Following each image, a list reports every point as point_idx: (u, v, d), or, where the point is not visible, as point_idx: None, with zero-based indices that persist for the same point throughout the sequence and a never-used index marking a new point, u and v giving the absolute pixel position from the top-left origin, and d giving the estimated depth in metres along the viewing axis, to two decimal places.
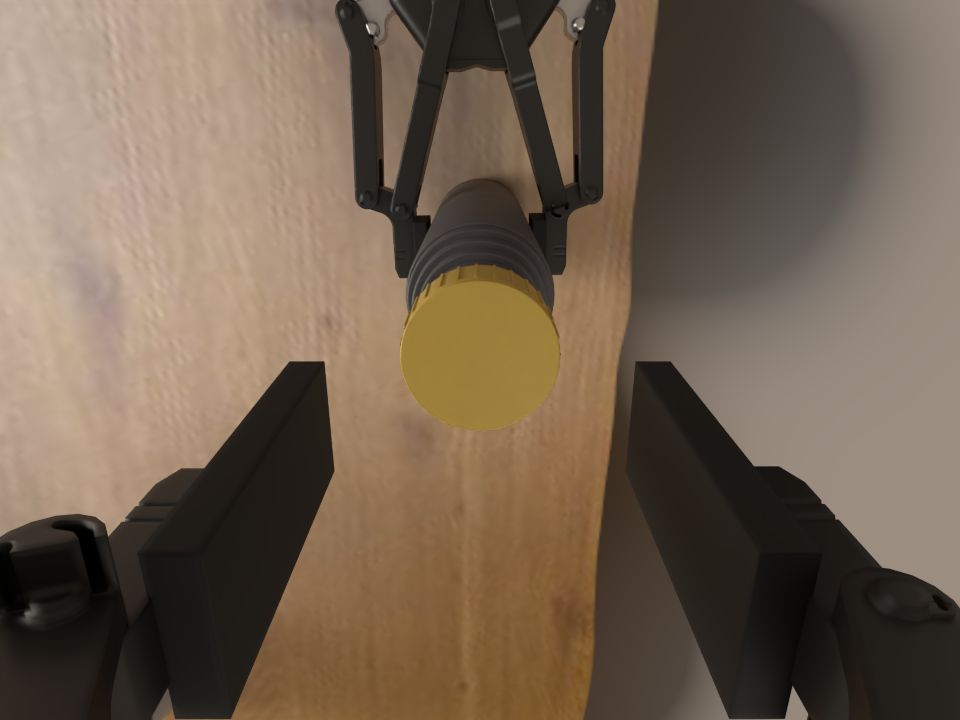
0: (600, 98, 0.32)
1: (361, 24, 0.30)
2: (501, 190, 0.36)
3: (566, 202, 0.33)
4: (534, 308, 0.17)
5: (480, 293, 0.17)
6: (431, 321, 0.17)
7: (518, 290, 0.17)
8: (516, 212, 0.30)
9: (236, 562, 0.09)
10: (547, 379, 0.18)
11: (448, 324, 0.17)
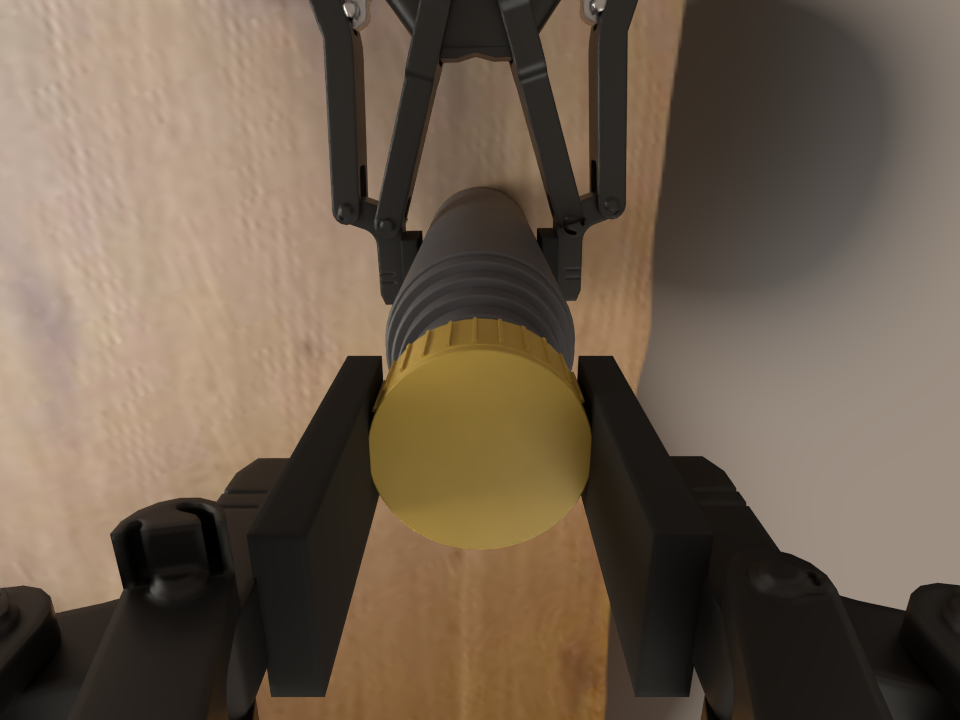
0: (623, 93, 0.26)
1: (337, 4, 0.25)
2: (505, 201, 0.31)
3: (582, 216, 0.28)
4: (557, 387, 0.12)
5: (480, 367, 0.12)
6: (410, 405, 0.12)
7: (535, 363, 0.12)
8: (524, 231, 0.24)
9: (328, 545, 0.09)
10: (574, 483, 0.13)
11: (435, 409, 0.12)
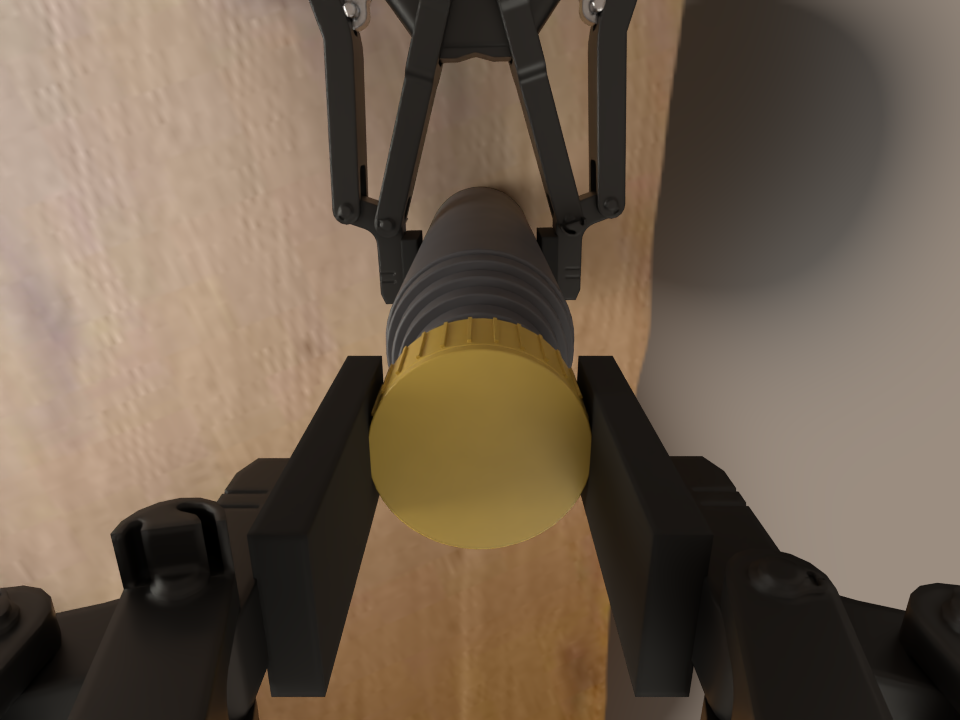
0: (623, 93, 0.27)
1: (337, 4, 0.25)
2: (504, 201, 0.31)
3: (581, 216, 0.28)
4: (383, 413, 0.12)
5: (391, 482, 0.13)
6: (450, 524, 0.13)
7: None
8: (523, 230, 0.25)
9: (328, 546, 0.09)
10: (477, 361, 0.12)
11: (446, 505, 0.13)
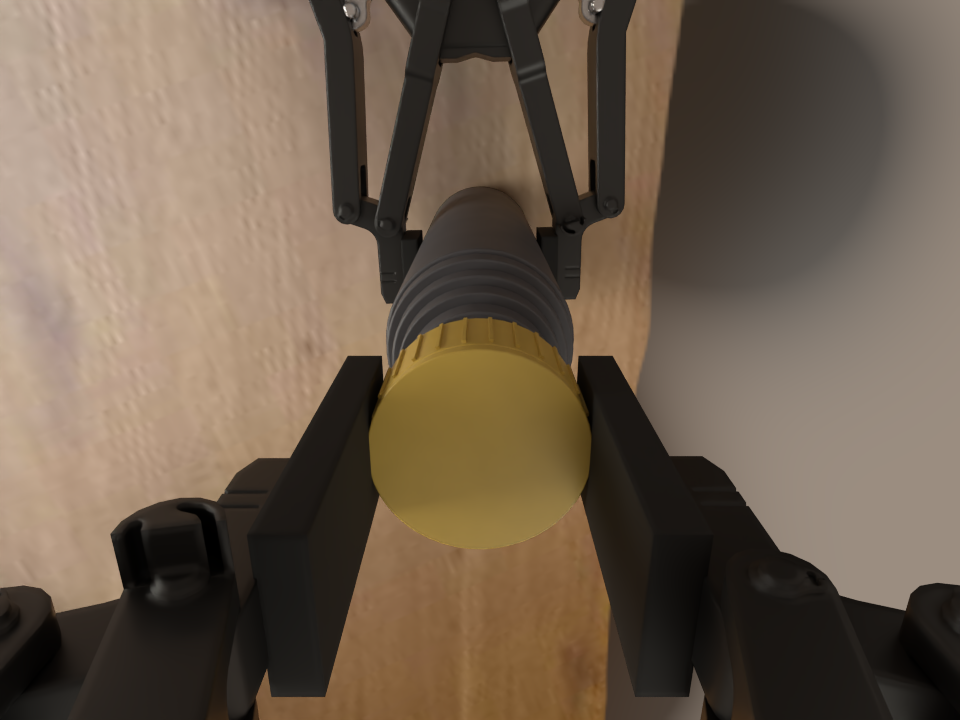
0: (622, 93, 0.27)
1: (337, 5, 0.25)
2: (504, 200, 0.31)
3: (581, 216, 0.28)
4: (468, 541, 0.13)
5: (536, 519, 0.13)
6: (567, 457, 0.13)
7: (499, 546, 0.13)
8: (523, 230, 0.25)
9: (328, 545, 0.09)
10: (387, 486, 0.13)
11: (545, 467, 0.13)
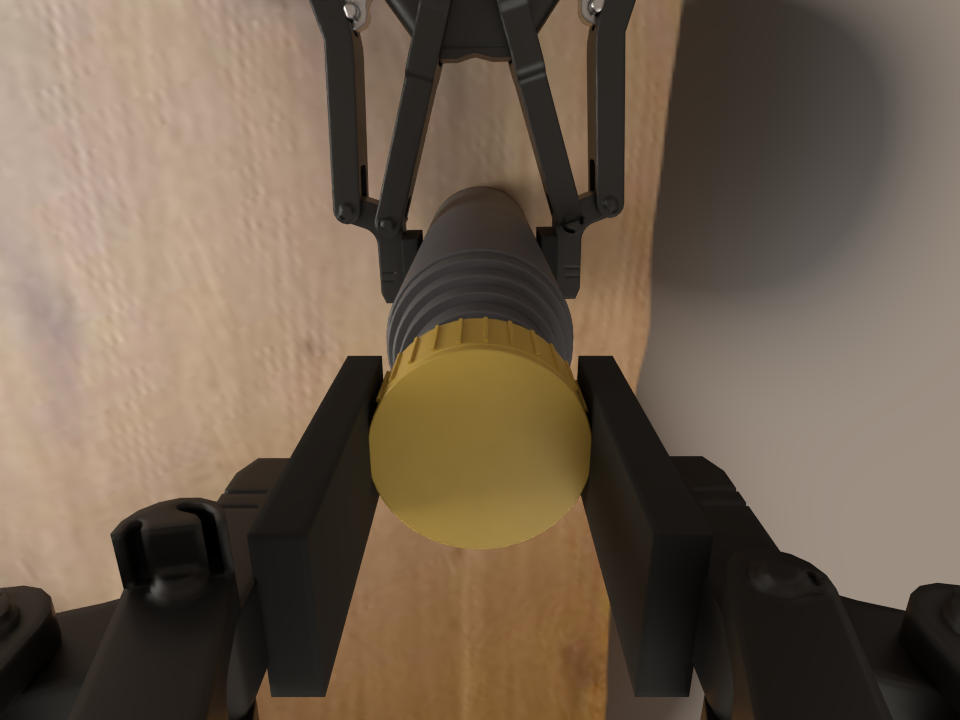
0: (621, 93, 0.27)
1: (337, 5, 0.26)
2: (504, 200, 0.32)
3: (581, 215, 0.28)
4: (583, 435, 0.12)
5: (534, 381, 0.12)
6: (451, 379, 0.12)
7: (580, 404, 0.12)
8: (523, 229, 0.25)
9: (328, 545, 0.09)
10: (542, 521, 0.13)
11: (470, 394, 0.12)
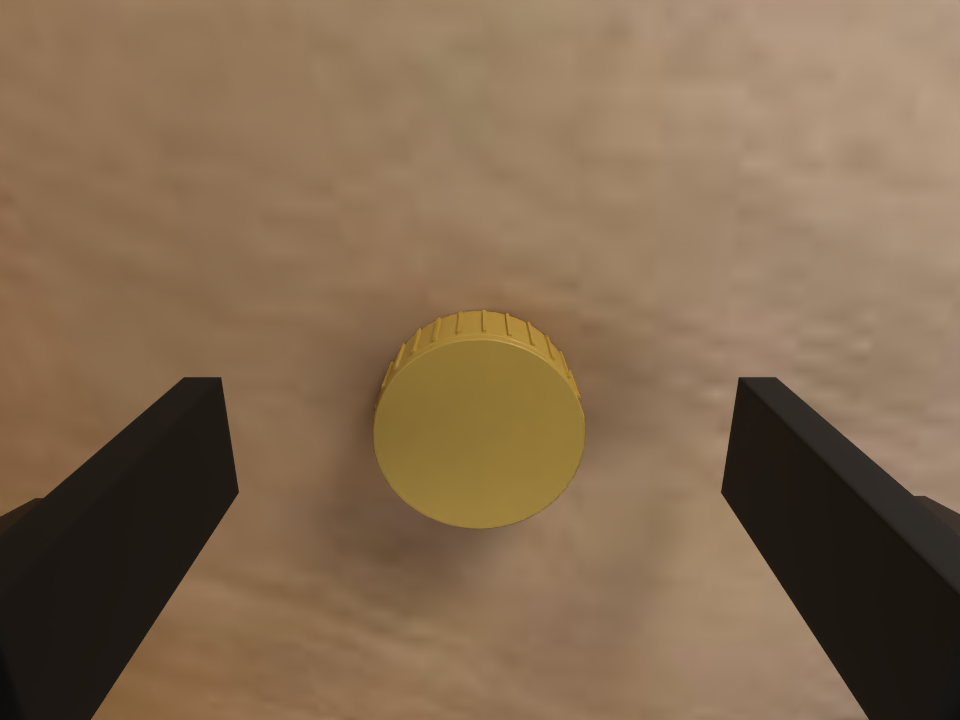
0: None
1: None
2: None
3: None
4: (576, 420, 0.13)
5: (529, 369, 0.13)
6: (452, 366, 0.13)
7: (572, 391, 0.13)
8: None
9: (59, 609, 0.08)
10: (537, 502, 0.14)
11: (469, 381, 0.13)
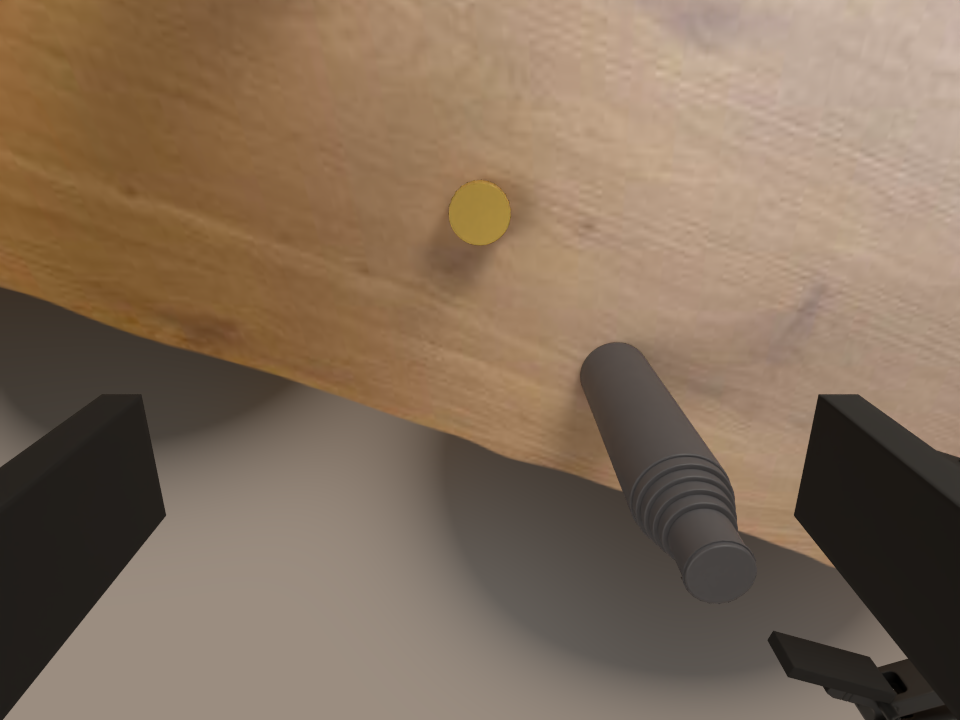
0: None
1: None
2: None
3: None
4: (507, 208, 0.46)
5: (493, 192, 0.45)
6: (472, 191, 0.45)
7: (506, 198, 0.46)
8: None
9: None
10: (497, 235, 0.47)
11: (477, 195, 0.46)
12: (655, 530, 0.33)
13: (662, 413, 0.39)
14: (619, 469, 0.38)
